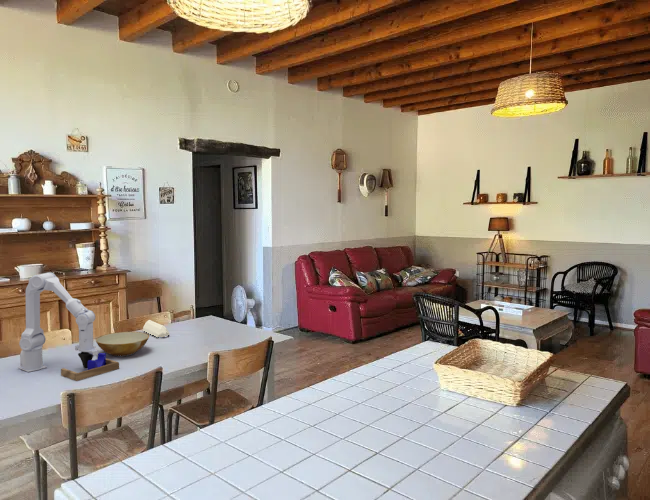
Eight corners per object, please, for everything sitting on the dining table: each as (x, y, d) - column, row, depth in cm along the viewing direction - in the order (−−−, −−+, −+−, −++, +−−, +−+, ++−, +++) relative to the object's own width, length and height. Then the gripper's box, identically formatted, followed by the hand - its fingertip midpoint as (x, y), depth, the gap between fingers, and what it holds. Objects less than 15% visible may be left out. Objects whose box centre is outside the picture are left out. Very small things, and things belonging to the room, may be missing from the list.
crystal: (174, 330, 278) (156, 322, 295) (163, 325, 273) (146, 318, 291) (168, 342, 276) (150, 334, 293) (157, 338, 271) (140, 330, 289)
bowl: (160, 350, 252) (160, 335, 251) (121, 363, 229) (121, 347, 228) (124, 343, 262) (124, 329, 261) (84, 356, 239) (83, 340, 239)
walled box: (61, 375, 211) (60, 368, 211) (103, 363, 228) (103, 357, 227) (76, 381, 204) (76, 374, 204) (119, 368, 221) (119, 362, 221)
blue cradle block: (95, 365, 225) (95, 352, 224) (105, 366, 225) (105, 353, 224) (84, 374, 213) (84, 360, 212) (94, 374, 213) (94, 361, 212)
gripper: (104, 339, 216) (104, 368, 217) (85, 334, 224) (85, 362, 225) (89, 342, 210) (89, 373, 211) (70, 337, 218) (70, 366, 219)
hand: (86, 368), depth 218 cm, fingers closed
